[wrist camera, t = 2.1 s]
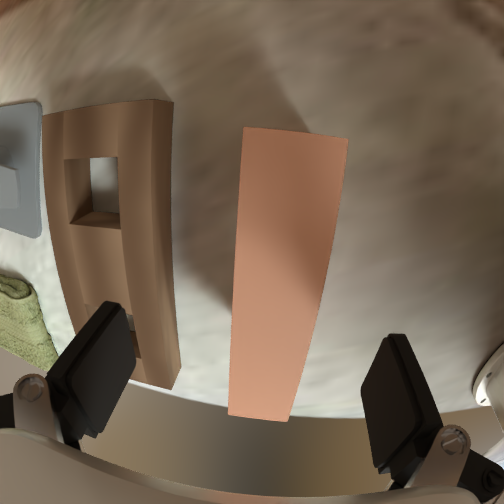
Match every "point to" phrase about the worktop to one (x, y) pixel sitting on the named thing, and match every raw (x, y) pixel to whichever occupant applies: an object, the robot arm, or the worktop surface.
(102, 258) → the slotted rail
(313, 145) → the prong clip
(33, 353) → the washcloth
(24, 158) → the shower valve
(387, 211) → the worktop surface
